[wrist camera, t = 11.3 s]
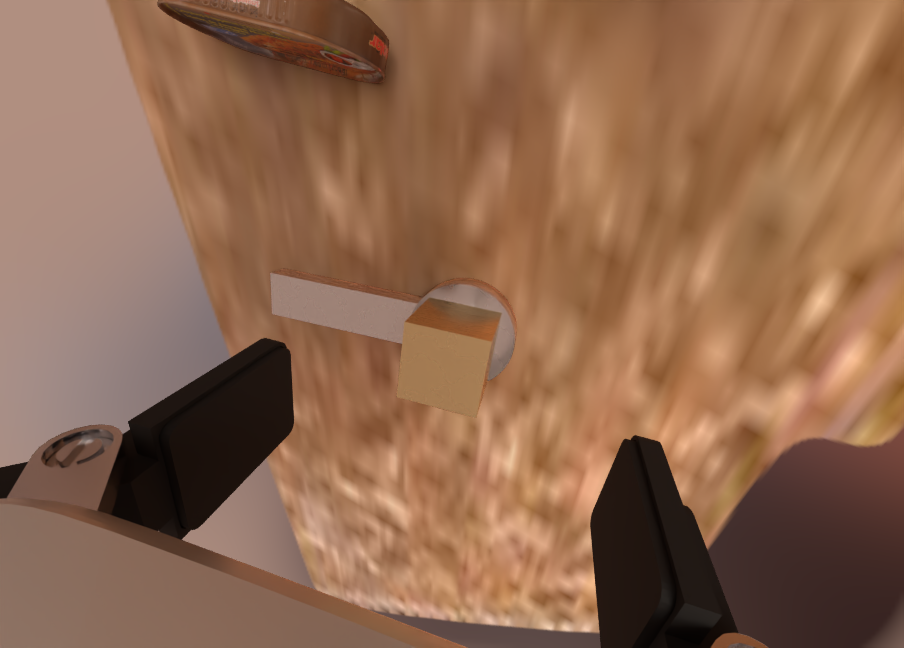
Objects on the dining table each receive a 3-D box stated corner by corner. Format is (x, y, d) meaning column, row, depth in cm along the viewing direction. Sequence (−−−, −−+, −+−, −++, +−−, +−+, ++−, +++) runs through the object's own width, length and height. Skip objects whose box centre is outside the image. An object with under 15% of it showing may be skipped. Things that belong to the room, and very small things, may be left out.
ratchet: (283, 241, 36) (235, 252, 30) (526, 289, 32) (522, 311, 26) (285, 330, 39) (243, 355, 33) (506, 382, 35) (498, 419, 30)
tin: (227, 46, 31) (120, 2, 23) (227, -2, 30) (115, -66, 22) (401, 92, 29) (349, 61, 21) (410, 43, 28) (357, -9, 20)
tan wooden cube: (429, 297, 31) (404, 321, 26) (501, 312, 30) (491, 341, 25) (420, 361, 34) (396, 397, 28) (488, 378, 33) (476, 418, 27)
